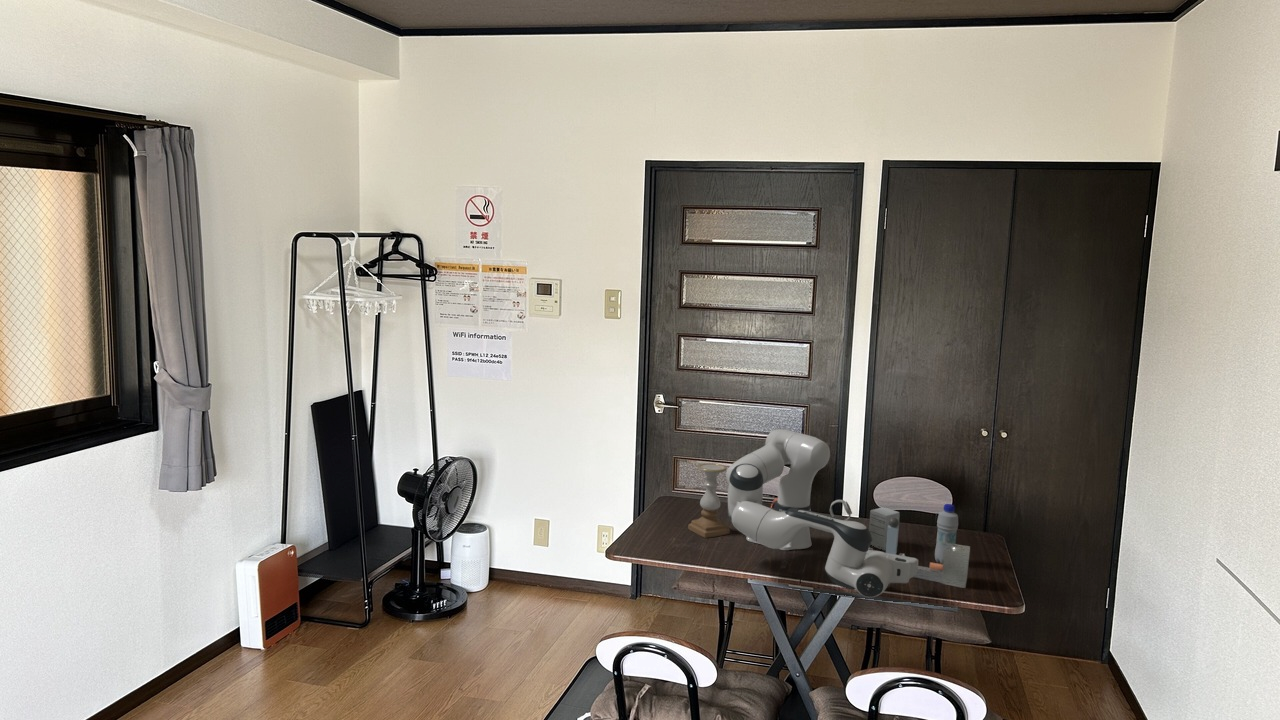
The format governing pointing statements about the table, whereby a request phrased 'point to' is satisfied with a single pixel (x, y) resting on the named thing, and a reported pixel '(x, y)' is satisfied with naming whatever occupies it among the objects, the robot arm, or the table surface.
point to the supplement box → (880, 526)
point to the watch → (846, 506)
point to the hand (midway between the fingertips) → (886, 553)
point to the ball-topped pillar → (892, 536)
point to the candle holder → (709, 505)
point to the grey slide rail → (949, 567)
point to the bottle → (945, 530)
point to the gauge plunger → (936, 566)
